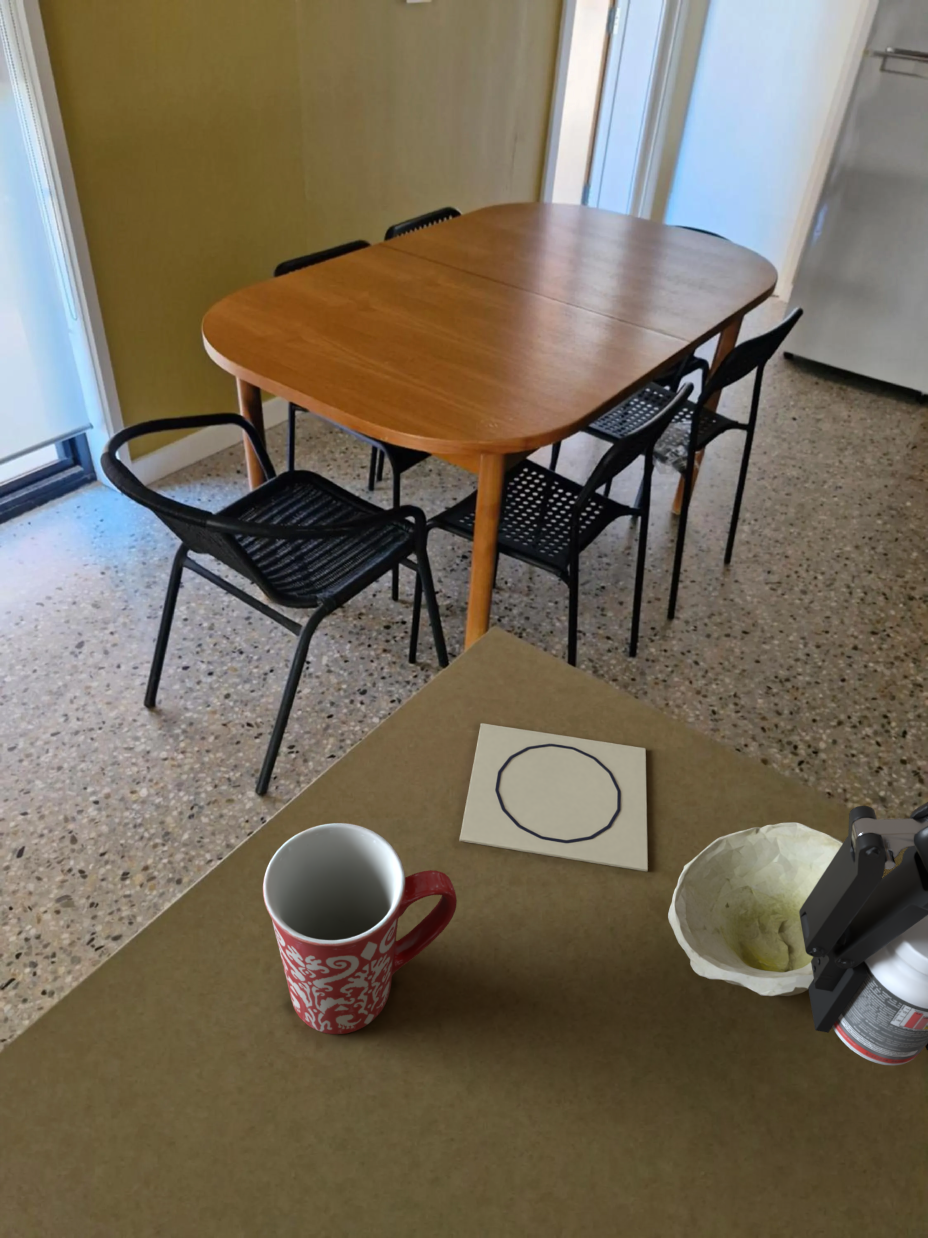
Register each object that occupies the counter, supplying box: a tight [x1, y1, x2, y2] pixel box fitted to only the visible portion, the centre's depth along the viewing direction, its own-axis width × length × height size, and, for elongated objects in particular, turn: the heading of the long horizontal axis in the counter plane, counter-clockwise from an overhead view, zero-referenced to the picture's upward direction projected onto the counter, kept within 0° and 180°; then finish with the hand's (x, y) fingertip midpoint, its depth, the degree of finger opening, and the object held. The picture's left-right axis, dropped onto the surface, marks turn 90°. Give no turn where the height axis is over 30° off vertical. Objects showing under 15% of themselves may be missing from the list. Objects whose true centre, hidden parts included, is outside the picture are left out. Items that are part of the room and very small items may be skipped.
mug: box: [262, 822, 458, 1035], centre depth 61 cm, size 13×9×14 cm
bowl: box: [667, 821, 844, 997], centre depth 66 cm, size 15×14×10 cm
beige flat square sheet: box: [459, 722, 649, 873], centre depth 80 cm, size 14×16×1 cm
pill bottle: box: [832, 915, 928, 1066], centre depth 50 cm, size 6×6×10 cm
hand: (872, 1019), depth 53 cm, fingers closed on pill bottle, 6 cm apart
